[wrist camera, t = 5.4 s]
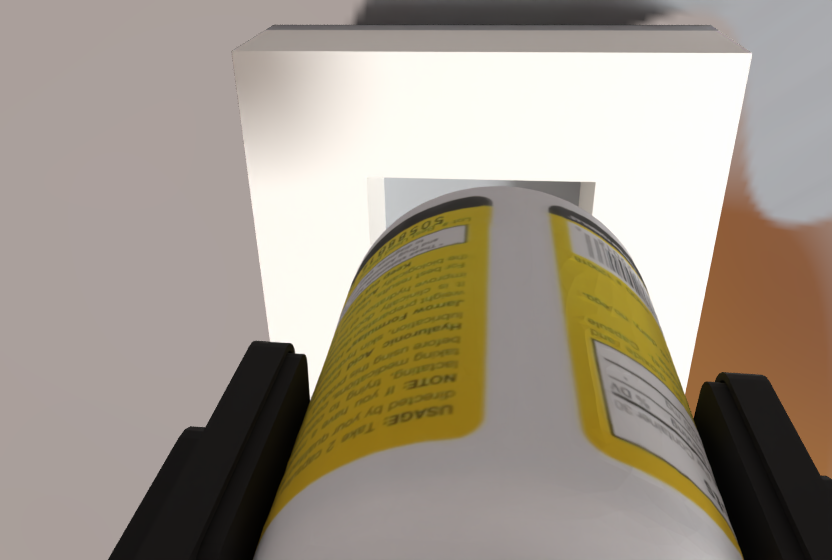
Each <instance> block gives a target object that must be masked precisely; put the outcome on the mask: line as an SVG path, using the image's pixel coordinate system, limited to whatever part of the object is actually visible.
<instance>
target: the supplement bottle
mask: <svg viewBox="0 0 832 560" xmlns="http://www.w3.org/2000/svg"><path fill="white" fill-rule="evenodd" d="M253 560H744V558H743V555H742V553H741V550H740V547H739V545H738V541H737V538H736V536H735V533H734V531H733V529H732V526H731V523H730V521H729V518H728V515H727V512H726V509H725V506H724V503H723V500H722V497H721V495H720V492H719V490H718V487H717V484H716V482H715V479H714V476H713V473H712V470H711V466H710V464H709V461H708V459H707V456H706V453H705V450H704V447H703V444H702V441H701V439H700V436H699V433H698V431H697V428H696V425H695V423H694V420H693V417H692V414H691V411H690V408H689V405H688V402H687V399H686V396H685V394H684V391H683V388H682V385H681V382H680V379H679V377H678V374H677V372H676V369H675V366H674V363H673V360H672V357H671V354H670V352H669V349H668V346H667V343H666V340H665V337H664V334H663V331H662V329H661V326H660V324H659V320H658V317H657V315H656V313H655V310H654V307H653V304H652V301H651V299H650V296H649V293H648V291H647V288H646V285H645V283H644V281H643V279H642V276H641V274H640V273H639V271H638V269H637V267H636V265H635V263H634V261H633V259H632V257H631V256H630V254H629V253H628V251H627V250H626V248H625V247H624V246H623V244H622V243H621V242H620V241H619V240H618V238H617V237H616V236H615V235H614V234H613V233H612V232H611V231H610V230H609V229H608V228H607V227H606V226H605V225H604V224H603V223H602V222H600V221H599V220H598V219H596V218H595V217H594V216H592V215H591V214H589V213H588V212H586V211H585V210H583V209H582V208H580V207H578V206H576V205H574V204H572V203H570V202H569V201H566V200H563V199H561V198H558V197H556V196H553V195H550V194H547V193H544V192H540V191H536V190H531V189H526V188H519V187H508V186H487V187H475V188H469V189H464V190H459V191H455V192H451V193H448V194H444V195H442V196H439V197H437V198H434V199H431V200H429V201H427V202H425V203H423V204H421V205H419V206H417V207H415V208H413V209H412V210H410V211H408V212H407V213H405V214H404V215H403V216H401V217H400V218H398V219H397V220H396V221H395V222H394V223H393V224H392V225H390V226H389V227H388V228H387V229H386V230H385V231H384V232H383V233H382V234H381V236H380V237H379V238H378V239H377V240H376V241H375V243H374V244H373V245H372V246H371V248H370V249H369V251H368V252H367V254H366V255H365V257H364V259H363V261H362V262H361V264H360V266H359V268H358V270H357V273H356V275H355V277H354V279H353V281H352V284H351V287H350V289H349V292H348V295H347V298H346V301H345V303H344V306H343V309H342V312H341V315H340V318H339V321H338V324H337V327H336V330H335V333H334V336H333V339H332V342H331V345H330V348H329V351H328V354H327V357H326V359H325V362H324V365H323V368H322V370H321V373H320V376H319V378H318V381H317V384H316V387H315V390H314V392H313V394H312V397H311V400H310V403H309V406H308V408H307V411H306V414H305V417H304V420H303V422H302V425H301V427H300V430H299V432H298V435H297V438H296V441H295V444H294V447H293V450H292V453H291V456H290V458H289V461H288V463H287V467H286V471H285V473H284V476H283V478H282V480H281V483H280V485H279V488H278V491H277V493H276V496H275V499H274V502H273V505H272V507H271V510H270V512H269V515H268V517H267V520H266V522H265V525H264V527H263V530H262V533H261V536H260V539H259V542H258V545H257V548H256V551H255V554H254V557H253Z"/></svg>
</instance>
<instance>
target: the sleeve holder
mask: <svg viewBox="0 0 832 560" xmlns="http://www.w3.org/2000/svg"><path fill="white" fill-rule="evenodd" d="M751 58H752V53H751V52H750V51H748V50H747V49H745V48H744V47H742V46H741V45H739V44H738V43H736V42H735V41H734V40H732V39H731V38H729V37H728V36H726V35H725V34H723V33H722V32H720V31H719V30H717V29H716V28H714V27H713V26H711V25H273V26H271V27H270V28H268V29H266V30H265V31H263V32H261V33H260V34H258V35H257V36H255V37H253V38H252V39H250V40H248V41H247V42H245V43H244V44H242V45H240V46H239V47H237V48H236V49H234V50H232V59H233V66H234V74H235V82H236V89H237V97H238V104H239V111H240V119H241V127H242V134H243V142H244V149H245V157H246V164H247V172H248V179H249V187H250V195H251V202H252V210H253V217H254V224H255V232H256V240H257V248H258V254H259V263H260V270H261V278H262V285H263V292H264V300H265V308H266V315H267V322H268V330H269V338H270V342H281V343H291V344H293V346H294V349H295V353H297V354H305V355H306V357H307V363H308V376H309V390H310V400H311V397H312V394H313V392H314V390H315V387H316V384H317V381H318V378H319V376H320V373H321V370H322V368H323V365H324V362H325V359H326V357H327V354H328V351H329V348H330V345H331V342H332V339H333V336H334V333H335V330H336V327H337V324H338V321H339V318H340V315H341V312H342V309H343V306H344V303H345V301H346V298H347V295H348V292H349V289H350V287H351V284H352V281H353V279H354V277H355V275H356V273H357V270H358V268H359V266H360V264H361V262H362V261H363V259H364V257H365V255H366V254H367V252H368V251H369V249H370V248H371V246H372V245H373V244H374V243H375V241H376V240H377V239H378V238H379V237H380V236H381V234H382V233H383V232H384V231H385V230H386V229H387V228H388V227H389V226H390V225H392V224H393V223H394V222H395V221H396V220H397V219H398V218H400V217H401V216H403V215H404V214H405V213H407V212H408V211H410V210H412V209H413V208H415V207H417V206H419V205H421V204H423V203H425V202H427V201H429V200H431V199H434V198H437V197H439V196H442V195H444V194H448V193H451V192H455V191H459V190H464V189H469V188H475V187H487V186H508V187H519V188H526V189H531V190H536V191H540V192H544V193H547V194H550V195H553V196H556V197H558V198H561V199H563V200H566V201H569V202H570V203H572V204H574V205H576V206H578V207H580V208H582V209H583V210H585V211H586V212H588V213H589V214H591V215H592V216H594V217H595V218H596V219H598V220H599V221H600V222H602V223H603V224H604V225H605V226H606V227H607V228H608V229H609V230H610V231H611V232H612V233H613V234H614V235H615V236H616V237H617V238H618V240H619V241H620V242H621V243H622V244H623V246H624V247H625V248H626V250H627V251H628V253H629V254H630V256H631V257H632V259H633V261H634V263H635V265H636V267H637V269H638V271H639V273H640V274H641V276H642V279H643V281H644V283H645V285H646V288H647V291H648V293H649V296H650V299H651V301H652V304H653V307H654V310H655V313H656V315H657V317H658V320H659V324H660V326H661V329H662V331H663V334H664V337H665V340H666V343H667V346H668V349H669V352H670V354H671V357H672V360H673V363H674V366H675V369H676V372H677V374H678V377H679V379H680V382H681V385H682V388H683V391H684V394H685V391H686V386H687V381H688V375H689V371H690V366H691V360H692V356H693V350H694V345H695V340H696V335H697V330H698V325H699V320H700V315H701V309H702V305H703V300H704V295H705V290H706V285H707V280H708V275H709V270H710V265H711V260H712V254H713V249H714V244H715V239H716V234H717V229H718V224H719V219H720V213H721V209H722V204H723V199H724V194H725V189H726V184H727V178H728V174H729V169H730V163H731V158H732V154H733V148H734V143H735V138H736V133H737V128H738V123H739V118H740V113H741V108H742V103H743V98H744V93H745V88H746V83H747V78H748V73H749V68H750V63H751Z"/></svg>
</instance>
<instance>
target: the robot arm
mask: <svg viewBox="0 0 832 560" xmlns="http://www.w3.org/2000/svg"><path fill="white" fill-rule="evenodd" d="M309 403H310V390H309V376H308V363H307V357H306V355H305V354H297V353H295V349H294V346H293V344H291V343H281V342H266V341H253V342H252V343H251V345H250V346H249V348H248V350H247V352H246V354H245V355H244V357H243V359H242V361H241V363H240V364H239V366H238V368H237V370H236V372H235V374H234V376H233V377H232V379H231V381H230V383H229V385H228V387H227V389H226V391H225V392H224V394H223V396H222V398H221V400H220V401H219V403H218V405H217V407H216V409H215V411H214V413H213V414H212V416H211V418H210V420H209V422H208V424H207V425H206V427H191V426H190V427H188V428H187V429H185V430H184V431H183V433H182V434H181V435H180V437H179V438H178V440H177V442H176V444H175V445H174V447H173V448H172V450H171V452H170V454H169V455H168V457H167V459H166V461H165V462H164V464H163V466H162V468H161V469H160V471H159V473H158V474H157V476H156V478H155V480H154V481H153V483H152V485H151V487H150V488H149V490H148V492H147V493H146V495H145V497H144V498H143V500H142V502H141V504H140V505H139V507H138V509H137V511H136V512H135V514H134V516H133V518H132V519H131V521H130V523H129V524H128V526H127V528H126V530H125V531H124V533H123V535H122V537H121V538H120V540H119V542H118V543H117V545H116V547H115V548H114V550H113V552H112V554H111V555H110V557H109V559H108V560H253V557H254V554H255V551H256V548H257V545H258V542H259V539H260V536H261V533H262V530H263V527H264V525H265V522H266V520H267V517H268V515H269V512H270V510H271V507H272V505H273V502H274V499H275V496H276V493H277V491H278V488H279V485H280V483H281V480H282V478H283V476H284V473H285V471H286V467H287V463H288V461H289V458H290V456H291V453H292V450H293V447H294V444H295V441H296V438H297V435H298V432H299V430H300V427H301V425H302V422H303V420H304V417H305V414H306V411H307V408H308V406H309ZM693 420H694V423H695V425H696V428H697V431H698V433H699V436H700V439H701V441H702V444H703V447H704V450H705V453H706V456H707V459H708V461H709V464H710V466H711V470H712V473H713V476H714V479H715V482H716V484H717V487H718V490H719V492H720V495H721V497H722V500H723V503H724V506H725V509H726V512H727V515H728V518H729V521H730V523H731V526H732V529H733V531H734V533H735V536H736V538H737V541H738V545H739V547H740V550H741V553H742V555H743V558H744V560H832V479H831V478H829V477H827V476H820V474H819V472H818V470H817V468H816V467H815V465H814V463H813V461H812V459H811V457H810V456H809V454H808V452H807V450H806V448H805V446H804V444H803V443H802V441H801V439H800V437H799V435H798V433H797V431H796V430H795V428H794V426H793V424H792V422H791V421H790V418H789V417H788V415H787V413H786V411H785V409H784V407H783V406H782V404H781V402H780V400H779V398H778V396H777V395H776V393H775V391H774V389H773V387H772V385H771V383H770V382H769V380H768V379H767V377H765V376H763V375H755V374H740V373H726V372H722V373H720V374H719V375H718V376H717V378H716V380H715V382H704V384H703V385H702V388H701V391H700V395H699V399H698V403H697V407H696V411H695V416H694V419H693Z"/></svg>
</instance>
